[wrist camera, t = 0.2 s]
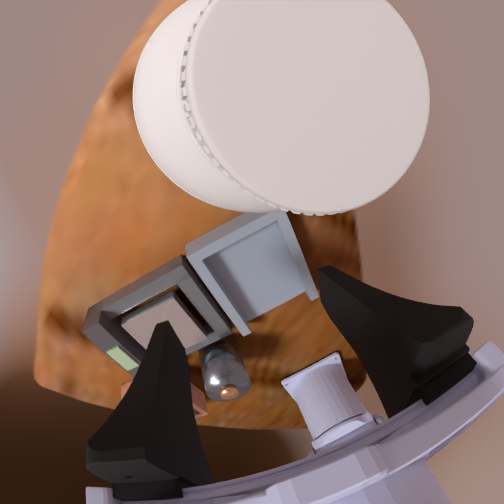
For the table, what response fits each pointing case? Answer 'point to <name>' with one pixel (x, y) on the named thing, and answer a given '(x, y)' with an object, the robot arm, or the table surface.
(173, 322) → the pad
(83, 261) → the table surface
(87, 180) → the table surface
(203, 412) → the pink square tube
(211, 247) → the trough
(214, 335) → the digital scale
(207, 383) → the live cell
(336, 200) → the pill bottle
